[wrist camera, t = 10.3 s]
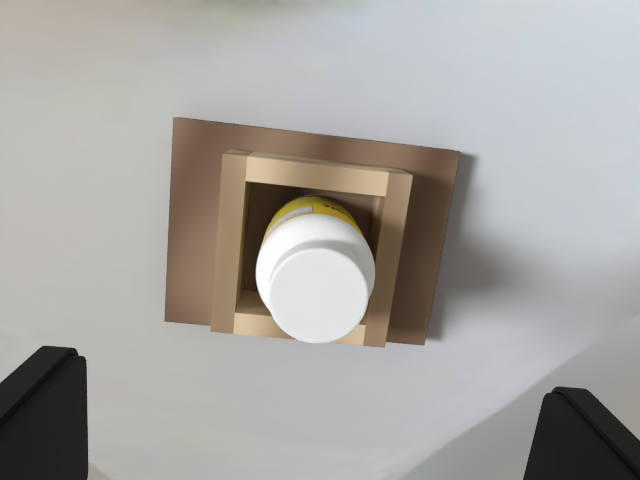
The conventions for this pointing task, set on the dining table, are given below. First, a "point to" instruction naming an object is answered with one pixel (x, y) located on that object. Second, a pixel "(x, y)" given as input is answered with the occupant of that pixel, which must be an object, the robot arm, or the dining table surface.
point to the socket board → (277, 189)
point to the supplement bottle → (315, 269)
